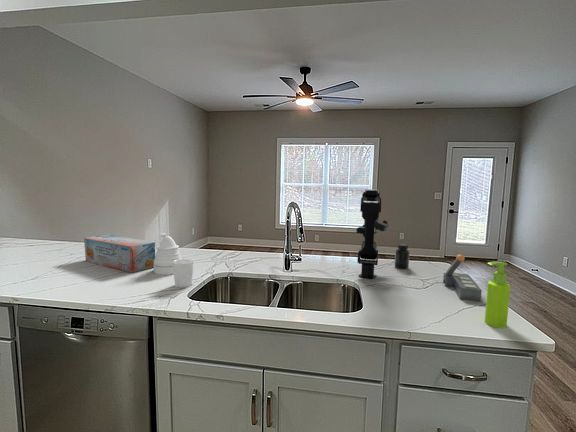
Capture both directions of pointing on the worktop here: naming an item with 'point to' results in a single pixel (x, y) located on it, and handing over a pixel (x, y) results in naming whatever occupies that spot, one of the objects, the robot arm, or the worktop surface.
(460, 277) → the switch strip
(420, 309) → the worktop surface
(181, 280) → the white cup
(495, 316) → the soap dispenser
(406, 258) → the supplement bottle
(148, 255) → the soda box
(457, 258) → the orange knob lever
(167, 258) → the honey pot
